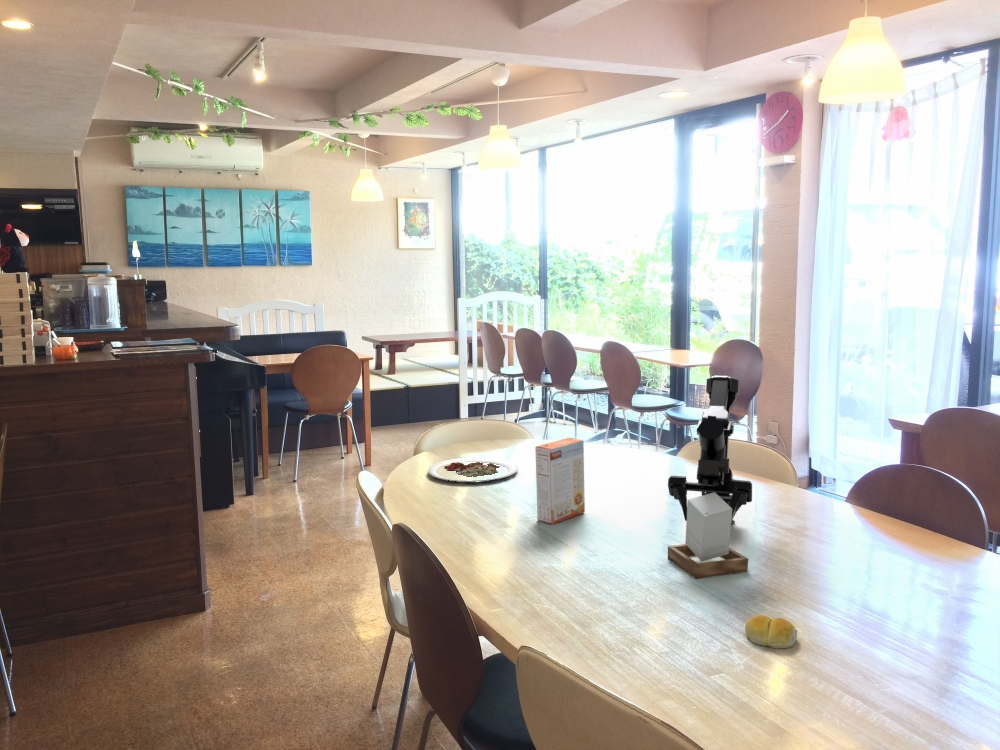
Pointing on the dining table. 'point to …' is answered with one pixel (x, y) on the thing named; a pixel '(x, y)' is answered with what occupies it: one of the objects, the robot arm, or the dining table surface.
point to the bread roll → (771, 631)
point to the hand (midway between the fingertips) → (707, 521)
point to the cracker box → (560, 480)
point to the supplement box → (708, 526)
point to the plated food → (474, 468)
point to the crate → (707, 562)
